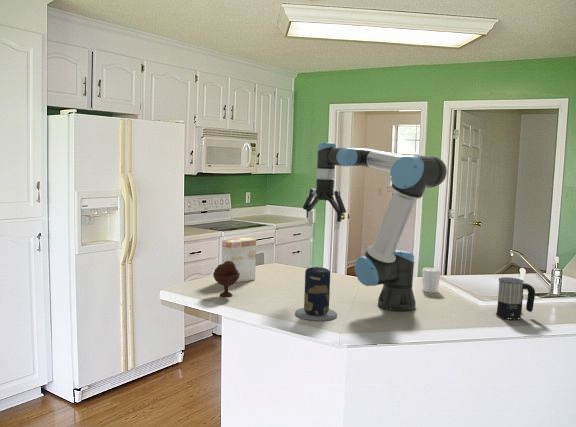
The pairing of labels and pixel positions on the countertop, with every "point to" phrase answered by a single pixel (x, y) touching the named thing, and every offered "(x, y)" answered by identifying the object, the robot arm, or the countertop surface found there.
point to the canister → (317, 291)
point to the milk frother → (513, 297)
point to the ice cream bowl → (226, 276)
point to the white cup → (430, 279)
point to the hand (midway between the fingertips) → (323, 227)
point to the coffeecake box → (241, 256)
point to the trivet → (310, 317)
